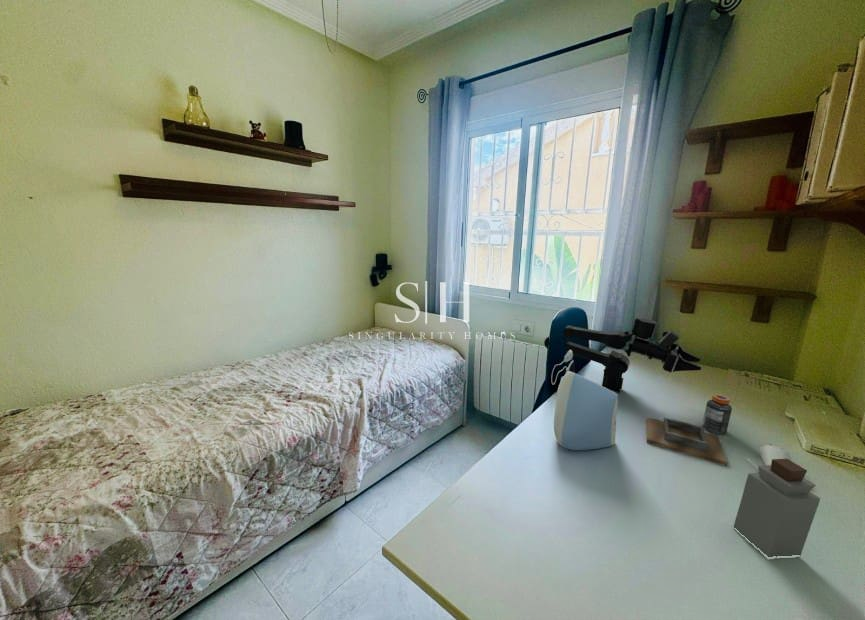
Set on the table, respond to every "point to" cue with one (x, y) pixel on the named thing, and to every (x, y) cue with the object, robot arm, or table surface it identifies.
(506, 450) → the table surface
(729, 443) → the table surface
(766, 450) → the woman figurine
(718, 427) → the pill bottle
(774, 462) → the perfume bottle
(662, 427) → the socket plate
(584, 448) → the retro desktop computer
